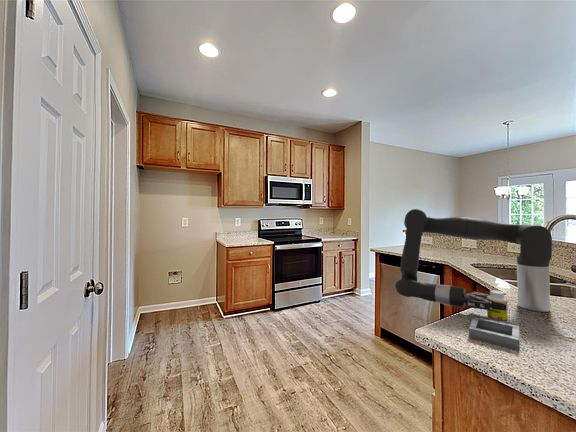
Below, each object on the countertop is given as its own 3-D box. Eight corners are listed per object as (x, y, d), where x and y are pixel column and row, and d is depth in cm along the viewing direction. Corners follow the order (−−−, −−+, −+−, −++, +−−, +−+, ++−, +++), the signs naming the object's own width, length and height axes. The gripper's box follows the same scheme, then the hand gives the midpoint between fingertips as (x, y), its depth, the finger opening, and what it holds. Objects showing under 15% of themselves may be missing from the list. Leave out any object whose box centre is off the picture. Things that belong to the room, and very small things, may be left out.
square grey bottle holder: (473, 325, 86) (473, 316, 86) (519, 335, 78) (519, 326, 78) (469, 337, 77) (469, 328, 77) (519, 350, 69) (519, 340, 69)
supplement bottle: (483, 318, 91) (483, 290, 91) (493, 316, 93) (492, 288, 93) (502, 324, 86) (501, 294, 86) (511, 321, 88) (510, 292, 88)
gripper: (445, 290, 94) (505, 299, 82) (453, 282, 104) (507, 289, 93) (446, 310, 94) (506, 322, 82) (453, 300, 104) (507, 309, 93)
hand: (506, 305), depth 88 cm, fingers closed on supplement bottle, 5 cm apart
